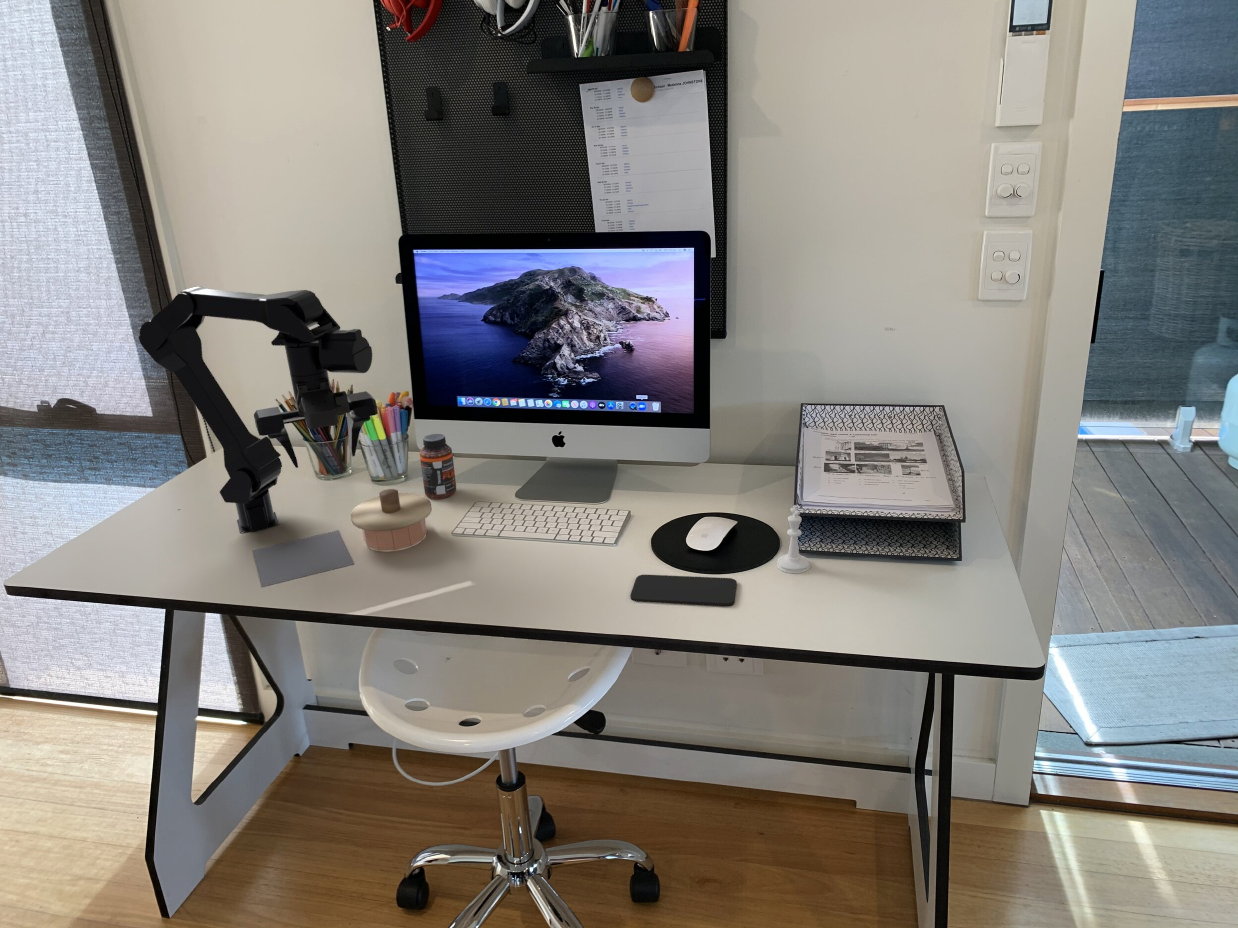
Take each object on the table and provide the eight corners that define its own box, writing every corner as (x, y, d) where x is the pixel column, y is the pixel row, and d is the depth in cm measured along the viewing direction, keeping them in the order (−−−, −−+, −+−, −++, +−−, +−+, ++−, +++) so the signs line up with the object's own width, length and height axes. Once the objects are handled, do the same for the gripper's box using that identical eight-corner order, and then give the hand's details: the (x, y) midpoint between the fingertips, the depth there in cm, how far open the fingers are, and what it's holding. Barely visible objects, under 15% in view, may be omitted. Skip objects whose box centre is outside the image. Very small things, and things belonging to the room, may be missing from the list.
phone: (637, 573, 135) (737, 577, 132) (637, 578, 136) (737, 582, 133) (628, 598, 129) (733, 603, 126) (629, 603, 129) (734, 609, 126)
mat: (252, 553, 148) (252, 550, 148) (339, 533, 154) (338, 530, 154) (262, 590, 136) (261, 586, 136) (355, 567, 142) (354, 563, 142)
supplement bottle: (450, 500, 164) (442, 443, 160) (419, 499, 165) (411, 442, 161) (461, 487, 170) (454, 431, 165) (432, 486, 171) (424, 431, 167)
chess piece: (790, 576, 133) (792, 516, 129) (770, 563, 137) (771, 503, 133) (816, 568, 135) (819, 508, 131) (796, 555, 139) (798, 496, 135)
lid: (344, 508, 151) (340, 487, 150) (420, 491, 156) (417, 471, 155) (360, 538, 140) (356, 516, 139) (441, 519, 145) (438, 497, 144)
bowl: (360, 535, 152) (355, 509, 151) (417, 522, 156) (414, 496, 154) (372, 559, 144) (368, 532, 142) (433, 544, 148) (429, 517, 146)
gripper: (252, 394, 133) (272, 490, 139) (377, 373, 141) (392, 465, 147) (245, 376, 143) (264, 467, 149) (363, 357, 150) (377, 444, 156)
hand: (325, 461), depth 150 cm, fingers open, 9 cm apart
